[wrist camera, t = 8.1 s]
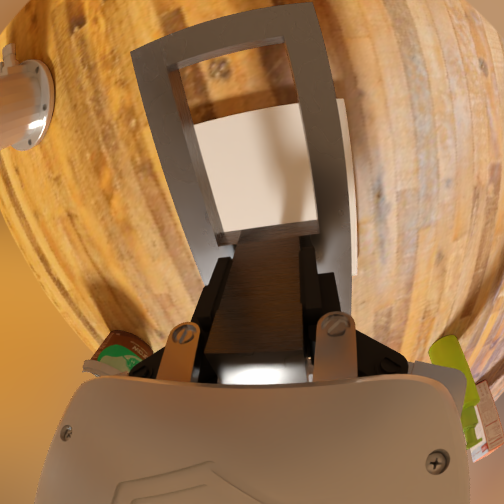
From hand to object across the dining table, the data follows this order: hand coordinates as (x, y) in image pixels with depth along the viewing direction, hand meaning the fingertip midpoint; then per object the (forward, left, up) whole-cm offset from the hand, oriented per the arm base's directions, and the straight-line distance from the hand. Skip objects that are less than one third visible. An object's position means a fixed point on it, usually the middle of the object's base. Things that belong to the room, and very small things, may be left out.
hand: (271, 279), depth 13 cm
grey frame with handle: (0, 0, -3) cm, 3 cm away
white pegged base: (+2, 0, -15) cm, 15 cm away
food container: (+23, -28, -15) cm, 39 cm away
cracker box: (+62, +47, -15) cm, 79 cm away
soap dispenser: (+31, +24, -15) cm, 42 cm away
